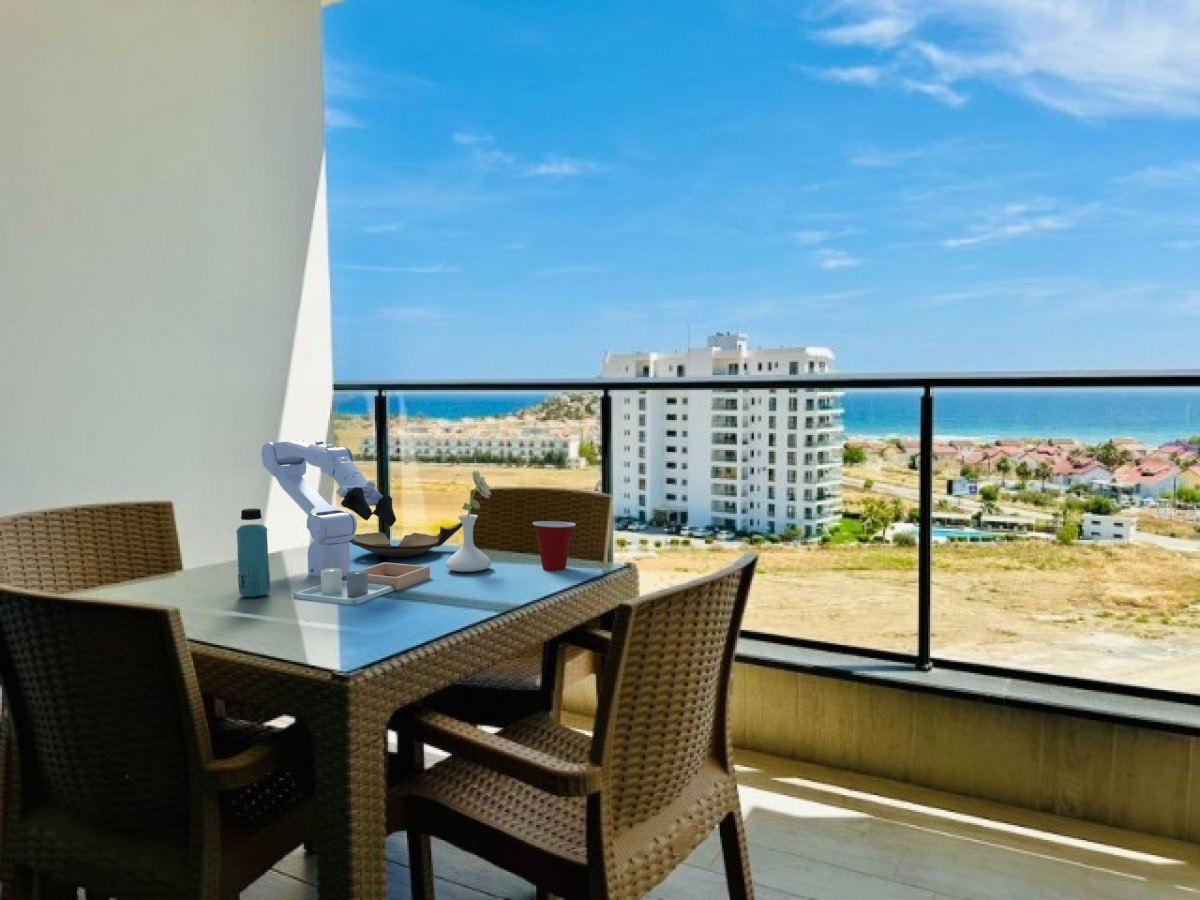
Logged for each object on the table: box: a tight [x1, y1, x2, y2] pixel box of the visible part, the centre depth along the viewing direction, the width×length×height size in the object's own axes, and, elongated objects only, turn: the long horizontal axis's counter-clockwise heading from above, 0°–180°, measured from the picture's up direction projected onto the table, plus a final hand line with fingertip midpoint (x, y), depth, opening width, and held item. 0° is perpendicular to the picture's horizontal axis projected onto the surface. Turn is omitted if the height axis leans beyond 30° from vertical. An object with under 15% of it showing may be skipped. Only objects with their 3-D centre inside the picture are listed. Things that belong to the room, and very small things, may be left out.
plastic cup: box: [532, 520, 577, 572], centre depth 224 cm, size 11×11×12 cm
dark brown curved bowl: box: [349, 521, 463, 558], centre depth 242 cm, size 22×30×8 cm
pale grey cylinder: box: [320, 568, 343, 595], centre depth 196 cm, size 4×4×5 cm
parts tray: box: [292, 579, 395, 606], centre depth 195 cm, size 16×14×2 cm
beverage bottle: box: [236, 508, 271, 597], centre depth 193 cm, size 6×7×20 cm
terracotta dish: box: [357, 562, 431, 591], centre depth 207 cm, size 13×13×4 cm
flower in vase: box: [445, 469, 492, 573], centre depth 222 cm, size 13×11×25 cm
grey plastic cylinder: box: [346, 570, 368, 598], centre depth 194 cm, size 4×4×5 cm
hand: (381, 519), depth 199 cm, fingers open, 7 cm apart
